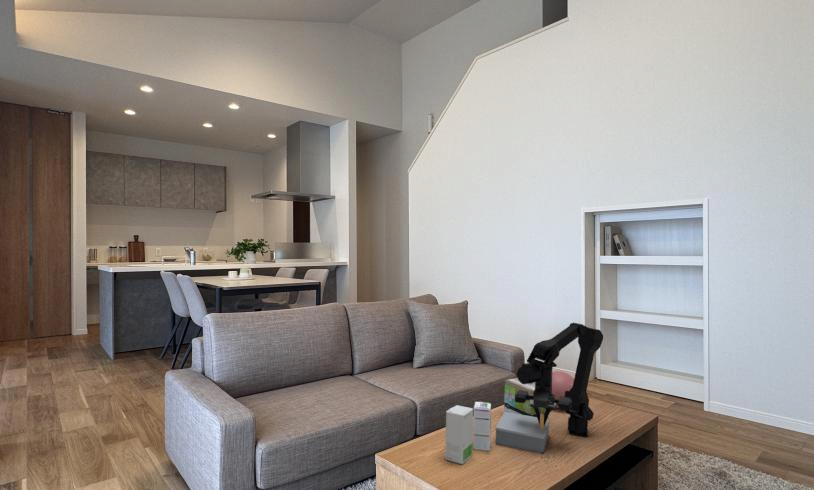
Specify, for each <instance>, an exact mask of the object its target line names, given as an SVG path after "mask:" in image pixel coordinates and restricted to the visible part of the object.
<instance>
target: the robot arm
mask: <svg viewBox="0 0 814 490" xmlns="http://www.w3.org/2000/svg"><path fill="white" fill-rule="evenodd" d="M576 339H577V342H578V346H579V349H580V350H579V355H578V360H577V365H576V368H575V374H574V377H573V378H574V382H573V387H572V388H571V389H570V390H569V391H566V392H565V397H561V396H560V398H559V399H555V395H554V394H552V372H553V368H556V367H557V364H556V363H555V360H556V359H557V358H558V357H559V356H560V352H561V350H563V349H565V347H567V346H568V345H569V344H571V343H572V342H573V341H575V340H576ZM603 340H604V334H603V332H602V330H600V329H596V328H593V327H588V326H586V325H584V324H582V323H579V322H578V323H577V322H571V323H570V324H569V326H567V327H566V328H564V329H563V330H561V332H559V333H558V334H556V335H555V336H553V337H551V338H550V339H545V340H541V341H539V342H536V343H535V345H534V346H533V348H532V350H531V353H530V354H529V356H528V358H527V359H526V362H524V363H521V366H520V367H519V368H518V369H517V371H516V378H518V380H519V381H520V383H522V384H529V383H534V382H535V390H534V394H533V395H528V391H522V390H518V391H517V393H516V394H515V402H519V403H524V402H526V400H530V407H533V409H534V410H535V412H536V415H537V419H538V422H539V424H540V413H541V411H540V407H542V408H545V409H546V411H545V417H544V425H545V424H546V421H547V418H548V419H549V416H550V414H551V412H552V411H555V410H556V408H555V407H556V405H558V407H559V408H558V409H559V410H562V411H564V412H565V414H568V415H569V417H568V419H567V431H568V434H569V435H574V436H579V437H580V436H581V437H584V438H588V436H589V429H588V428H589V422H590V421H591V420H593V418H594V414H595V413H594V411H593V410H592V409H591V408H590V406H589V405H590V398H589V395H588V392H587V390H588V386H589V385H588V384H589V380H590V376H591V371H592V366H593V362H594V357H595V354H596V352H597V351H598V350H599V349H600V348H601V346H602V343H603Z"/></svg>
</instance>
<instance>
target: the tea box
mask: <svg viewBox="0 0 814 490" xmlns="http://www.w3.org/2000/svg"><path fill="white" fill-rule="evenodd" d="M518 390H522V391H528V395H533V394H534V390H535V382H534V383H529V384H522V383H520V381H519V380H518V378H517V377H515V378H514V377H513V378H509V379H505V380H504V396H503V397H504V398H503V399H504V400H503V401H504V402H503V403H504V404H503V406H504V407H503V413H504V412H509V413H515V414H521V415H526V416H532V417H537V415H536V412H535V410H534V409H533V407H530V400H526V402H524V403H519V402H515V394H516V393H517V391H518ZM540 411H544V412H545V411H546V409H545V408H542V407H540ZM547 419H549V417H548V418H547Z"/></svg>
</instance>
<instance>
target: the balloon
mask: <svg viewBox="0 0 814 490" xmlns="http://www.w3.org/2000/svg"><path fill="white" fill-rule="evenodd" d="M574 378H575V377H573V376H572V375H571V374H569V373H567V372H565V371H561V370H560V371H559V370H556V371H552V394H554V395H555V399H559V398H560V396H561V397H565V392H566V391H569V390H570V389H571V388H572V387H573V382H574ZM555 409H560V408H559V407H558V405H556V407H555Z"/></svg>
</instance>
